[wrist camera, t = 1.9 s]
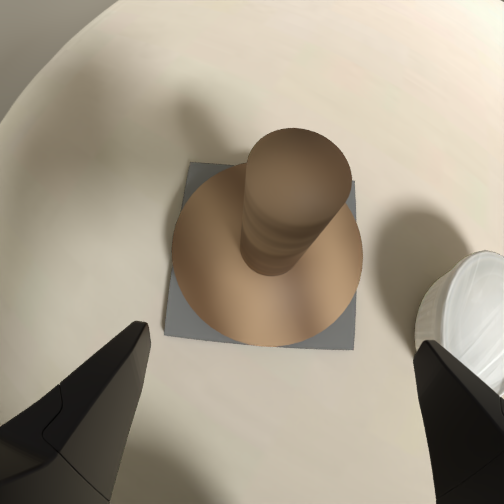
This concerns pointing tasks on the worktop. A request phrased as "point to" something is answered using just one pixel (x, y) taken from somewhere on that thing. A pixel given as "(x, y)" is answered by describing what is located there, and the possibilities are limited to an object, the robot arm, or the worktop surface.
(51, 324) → the worktop surface
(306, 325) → the walnut lid
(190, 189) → the rubber mat
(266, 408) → the worktop surface
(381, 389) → the worktop surface
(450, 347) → the ramekin
